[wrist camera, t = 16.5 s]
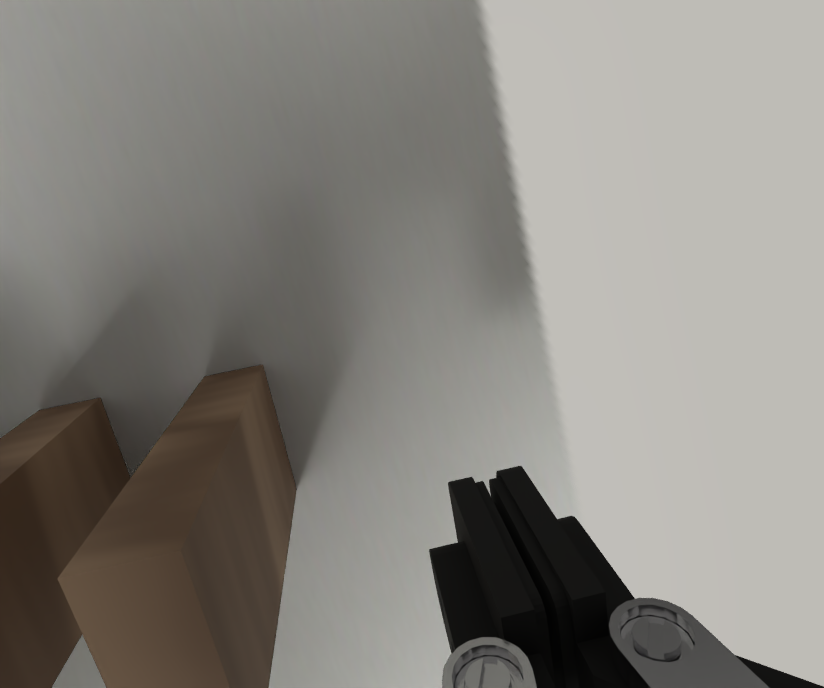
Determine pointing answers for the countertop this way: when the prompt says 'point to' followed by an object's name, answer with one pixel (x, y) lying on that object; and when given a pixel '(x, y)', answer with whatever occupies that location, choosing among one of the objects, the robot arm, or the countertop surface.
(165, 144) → the countertop surface
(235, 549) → the domino
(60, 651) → the domino
